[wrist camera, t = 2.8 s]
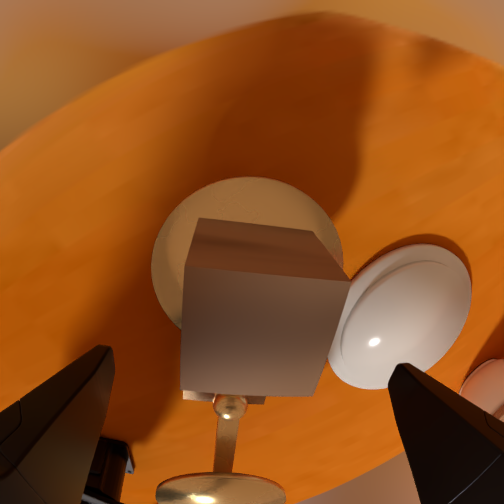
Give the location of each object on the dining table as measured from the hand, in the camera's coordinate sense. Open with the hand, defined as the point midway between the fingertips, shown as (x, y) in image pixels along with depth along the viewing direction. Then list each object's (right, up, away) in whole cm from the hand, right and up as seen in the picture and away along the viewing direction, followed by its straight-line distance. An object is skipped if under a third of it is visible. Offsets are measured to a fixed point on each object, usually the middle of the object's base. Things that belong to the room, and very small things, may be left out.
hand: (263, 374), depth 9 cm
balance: (-2, -3, +13) cm, 13 cm away
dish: (+11, -2, +13) cm, 18 cm away
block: (0, +2, +6) cm, 6 cm away
